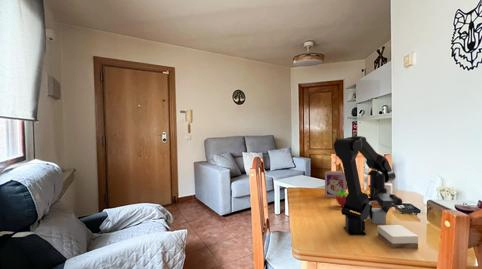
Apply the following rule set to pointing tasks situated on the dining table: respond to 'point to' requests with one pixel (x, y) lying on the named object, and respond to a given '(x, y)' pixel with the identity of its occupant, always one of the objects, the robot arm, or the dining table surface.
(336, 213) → the dining table surface
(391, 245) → the tower bottom
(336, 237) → the dining table surface
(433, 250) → the dining table surface
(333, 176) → the pink snowman box
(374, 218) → the slate cube
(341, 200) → the strawberry
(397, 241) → the tower top
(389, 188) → the ink cartridge box
